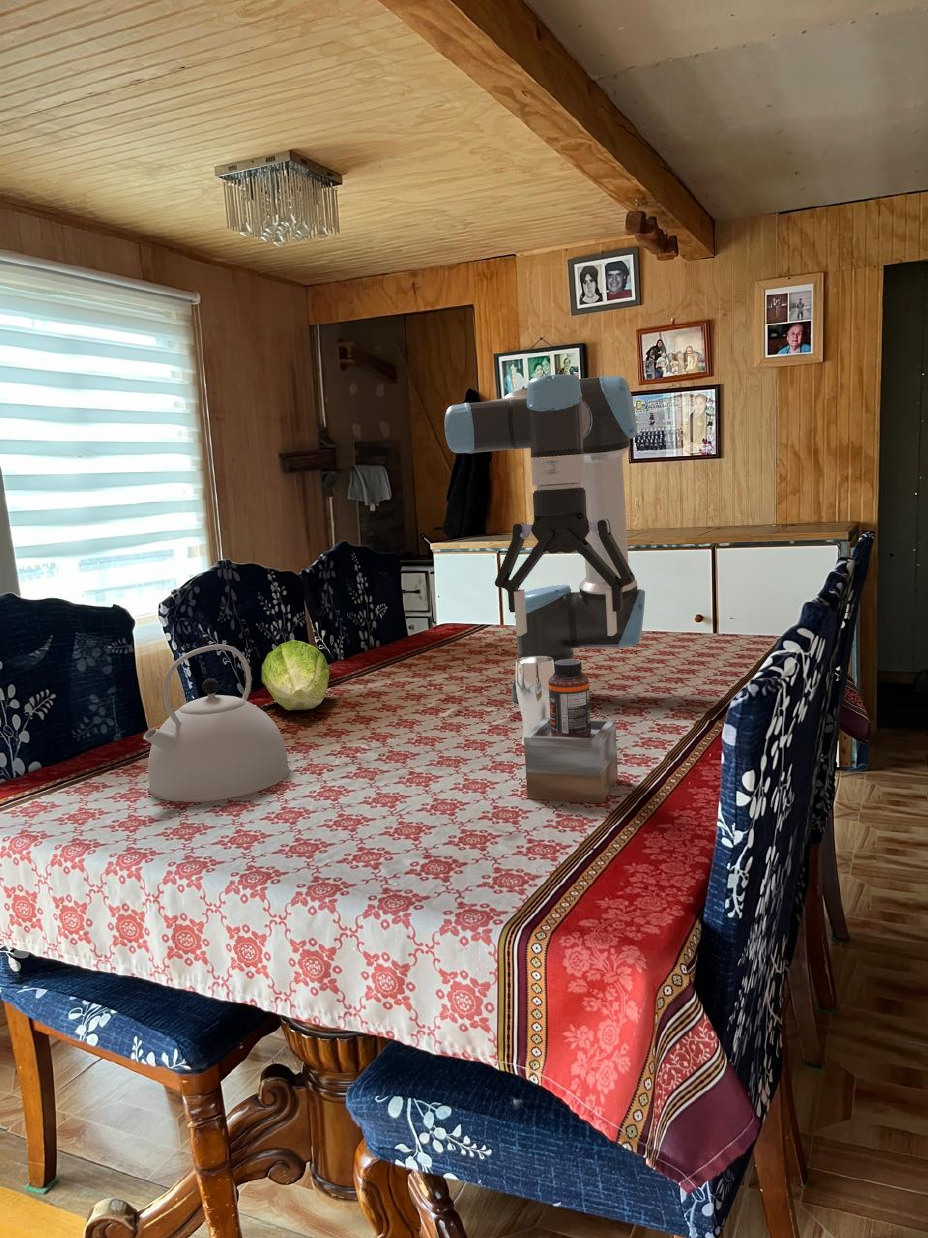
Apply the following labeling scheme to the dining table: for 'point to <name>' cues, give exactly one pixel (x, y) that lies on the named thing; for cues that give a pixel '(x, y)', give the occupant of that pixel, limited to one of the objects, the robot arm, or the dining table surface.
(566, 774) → the wooden box
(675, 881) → the dining table surface
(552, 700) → the supplement bottle
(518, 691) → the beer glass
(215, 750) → the kettle
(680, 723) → the dining table surface
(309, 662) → the lettuce
